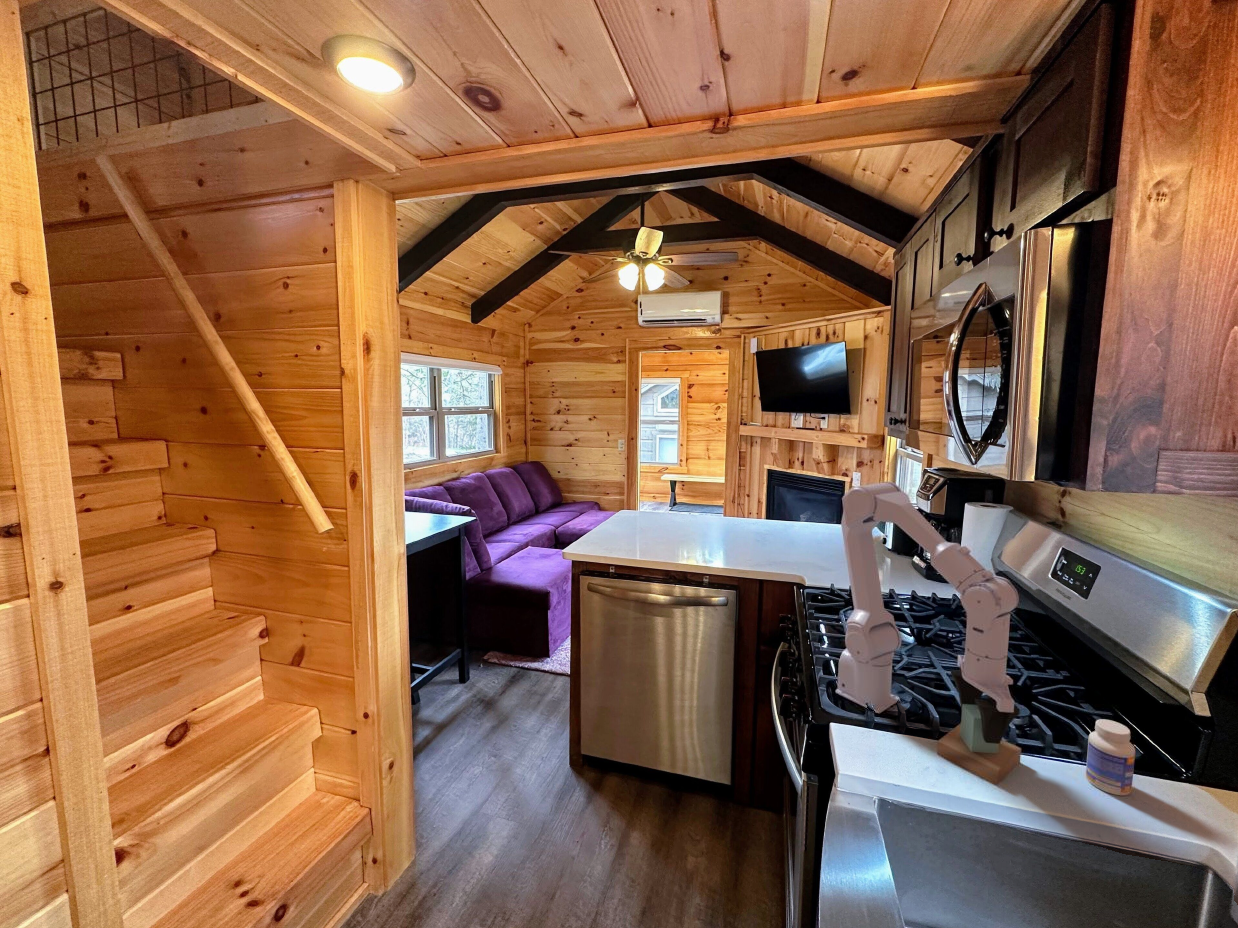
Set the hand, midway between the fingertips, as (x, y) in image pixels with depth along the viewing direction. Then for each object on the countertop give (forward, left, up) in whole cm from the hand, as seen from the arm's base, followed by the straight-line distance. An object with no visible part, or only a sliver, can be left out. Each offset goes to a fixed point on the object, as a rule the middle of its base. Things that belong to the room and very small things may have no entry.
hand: (980, 727), depth 90 cm
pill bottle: (+15, +10, -6) cm, 18 cm away
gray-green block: (0, 0, -3) cm, 3 cm away
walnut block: (0, 0, -6) cm, 6 cm away
